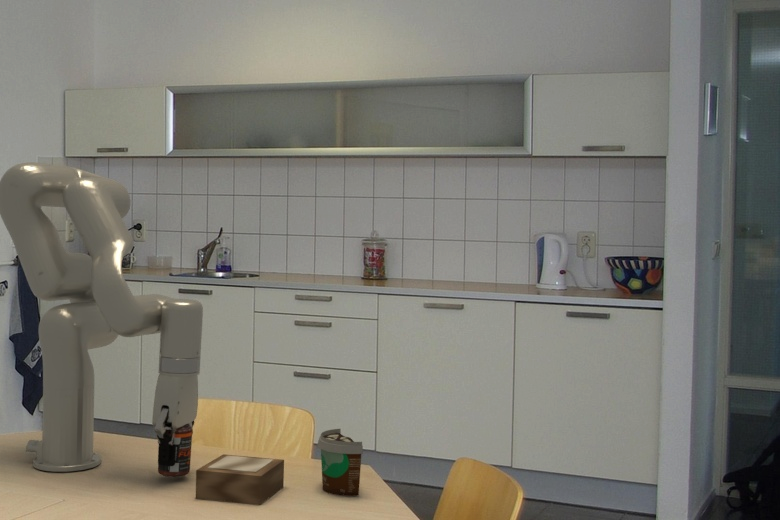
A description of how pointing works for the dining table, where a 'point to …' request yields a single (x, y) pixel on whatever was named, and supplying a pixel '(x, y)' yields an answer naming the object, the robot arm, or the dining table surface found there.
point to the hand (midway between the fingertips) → (174, 459)
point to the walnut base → (240, 479)
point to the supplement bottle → (179, 453)
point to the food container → (340, 463)
